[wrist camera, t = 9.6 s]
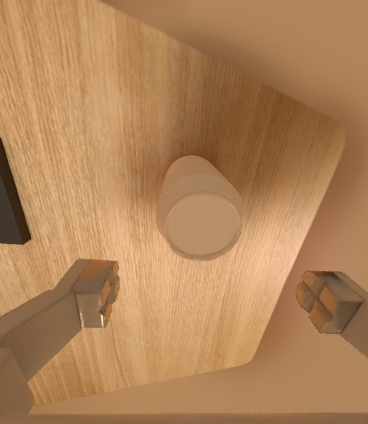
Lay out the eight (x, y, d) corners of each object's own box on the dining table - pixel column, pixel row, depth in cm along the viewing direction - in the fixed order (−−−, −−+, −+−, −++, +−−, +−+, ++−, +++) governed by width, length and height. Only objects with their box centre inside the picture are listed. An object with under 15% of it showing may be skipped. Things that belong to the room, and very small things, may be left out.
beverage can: (179, 211, 24) (181, 281, 13) (155, 169, 21) (132, 211, 11) (223, 190, 23) (265, 247, 12) (203, 143, 20) (231, 161, 10)
